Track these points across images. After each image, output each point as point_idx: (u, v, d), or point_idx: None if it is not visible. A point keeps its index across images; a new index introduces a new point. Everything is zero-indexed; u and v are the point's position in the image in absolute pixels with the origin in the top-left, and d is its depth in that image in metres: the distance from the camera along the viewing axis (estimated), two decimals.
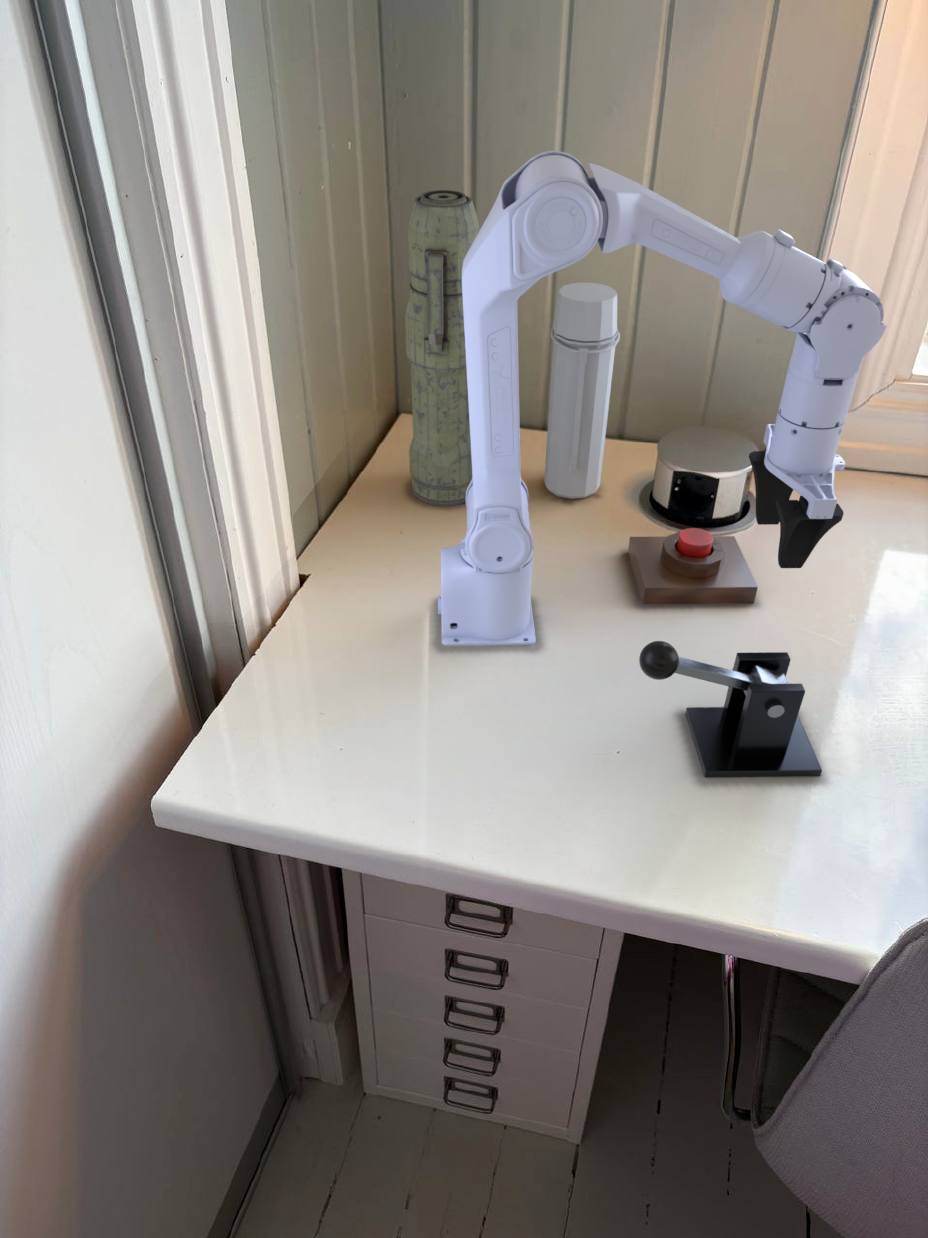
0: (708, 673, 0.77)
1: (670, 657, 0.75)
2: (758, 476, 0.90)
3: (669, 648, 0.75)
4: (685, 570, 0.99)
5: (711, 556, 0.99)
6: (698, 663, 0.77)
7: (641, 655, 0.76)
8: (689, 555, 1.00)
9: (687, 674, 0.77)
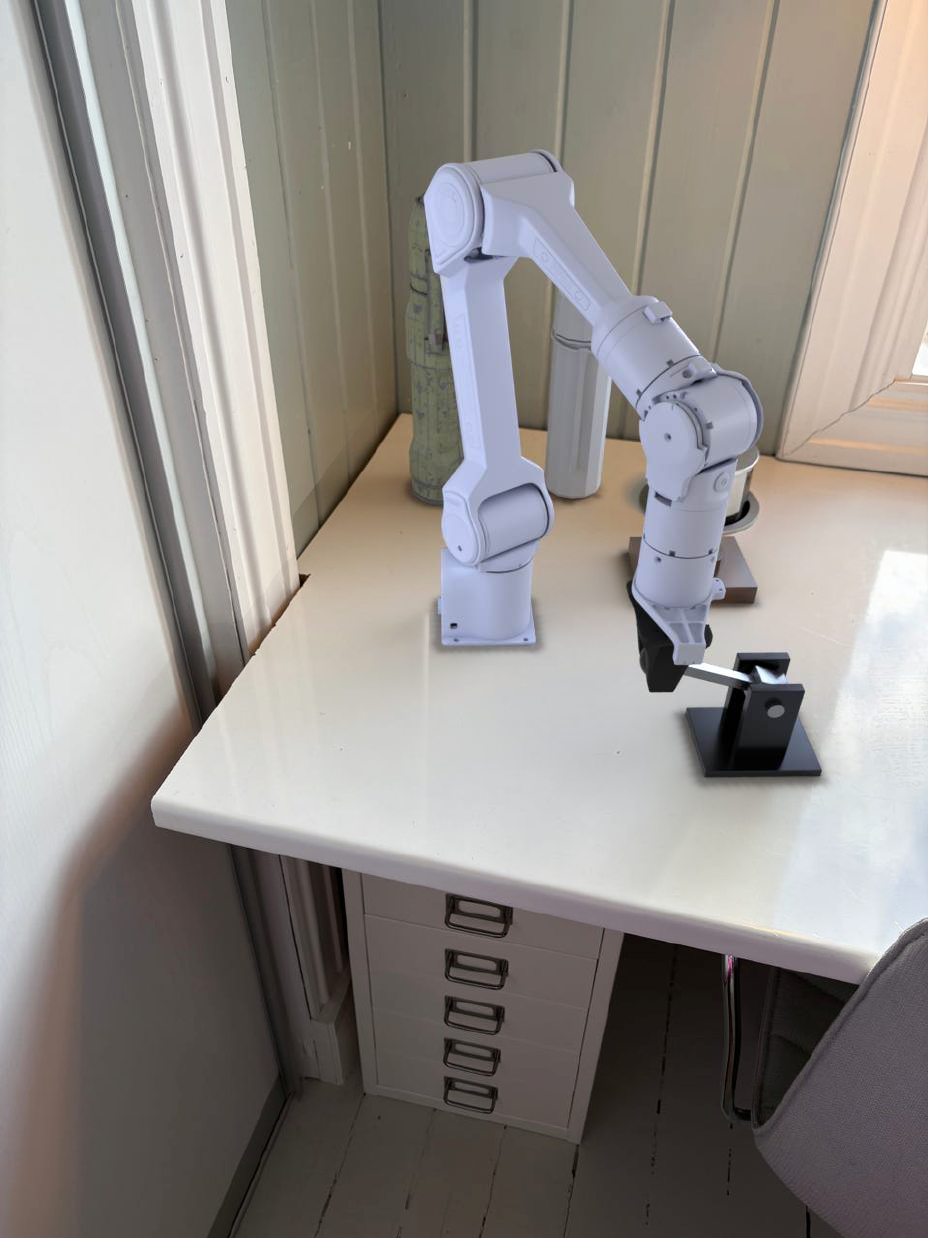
0: (708, 673, 0.77)
1: None
2: (636, 611, 0.75)
3: None
4: None
5: None
6: None
7: (641, 655, 0.76)
8: None
9: (687, 674, 0.77)
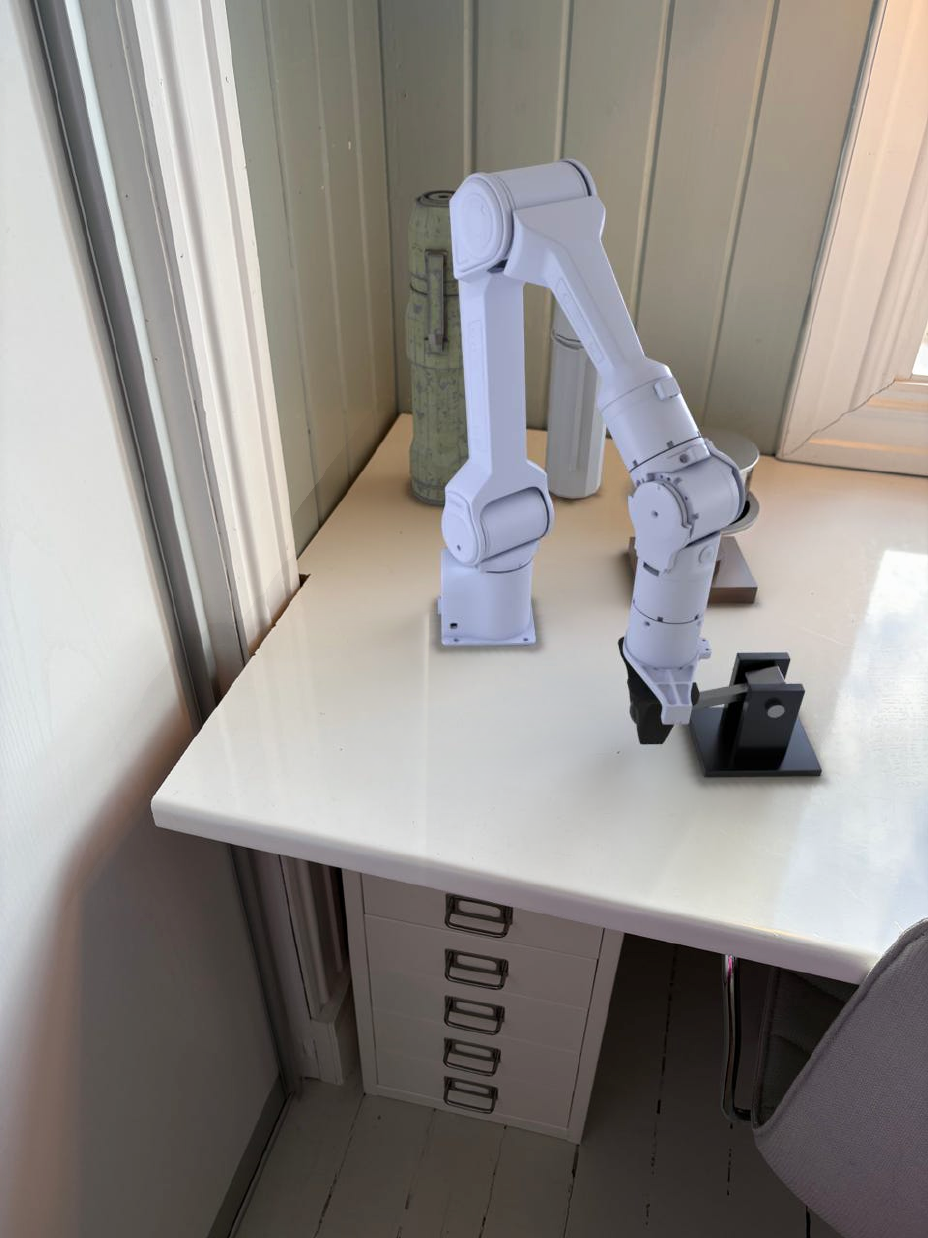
0: (698, 702, 0.79)
1: None
2: (627, 667, 0.79)
3: None
4: None
5: None
6: None
7: (630, 713, 0.80)
8: None
9: None
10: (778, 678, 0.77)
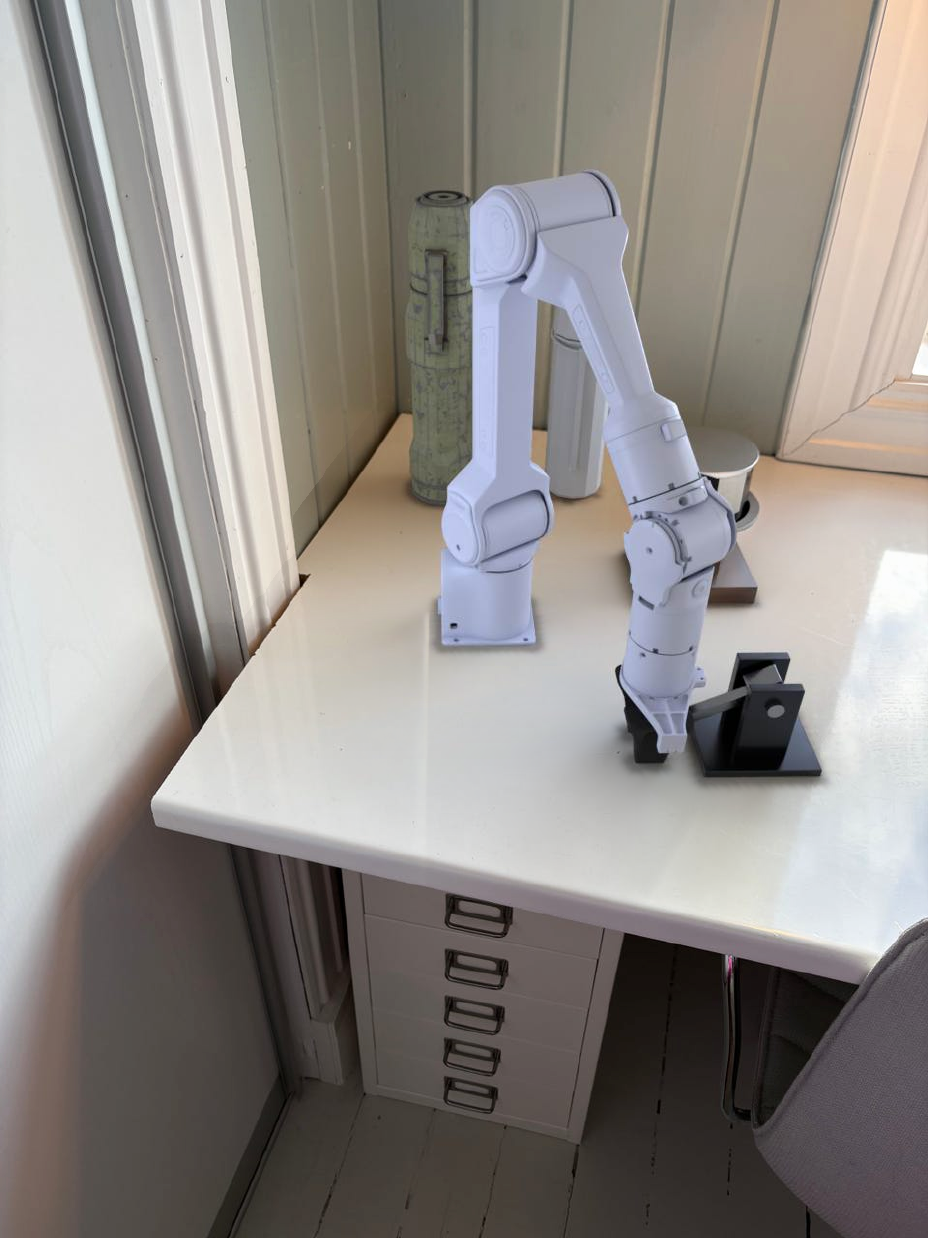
0: (701, 712, 0.79)
1: None
2: (624, 694, 0.81)
3: None
4: None
5: None
6: (689, 708, 0.80)
7: None
8: None
9: None
10: (774, 677, 0.77)
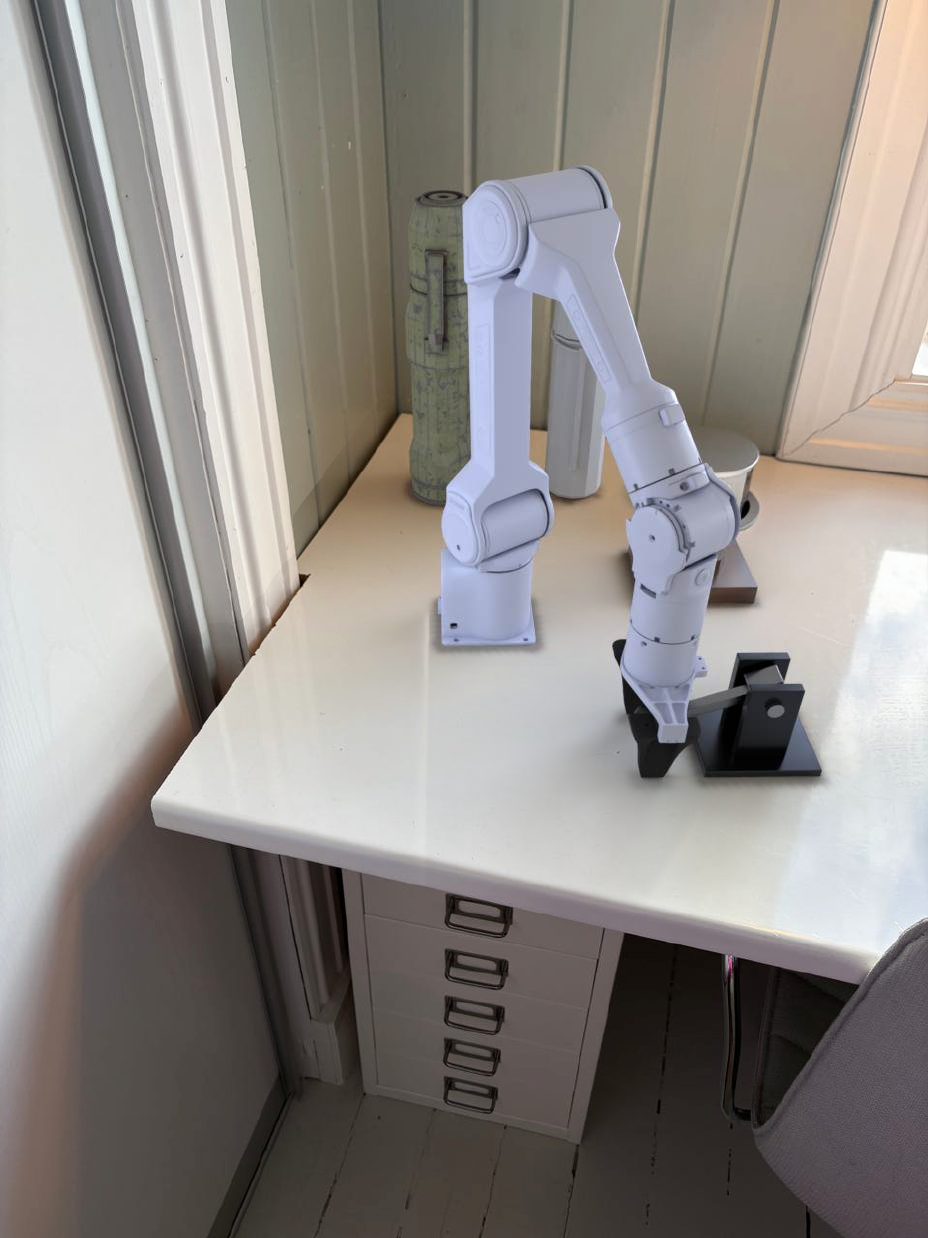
0: (699, 708, 0.79)
1: None
2: None
3: (648, 709, 0.79)
4: None
5: None
6: None
7: None
8: None
9: None
10: (776, 677, 0.77)
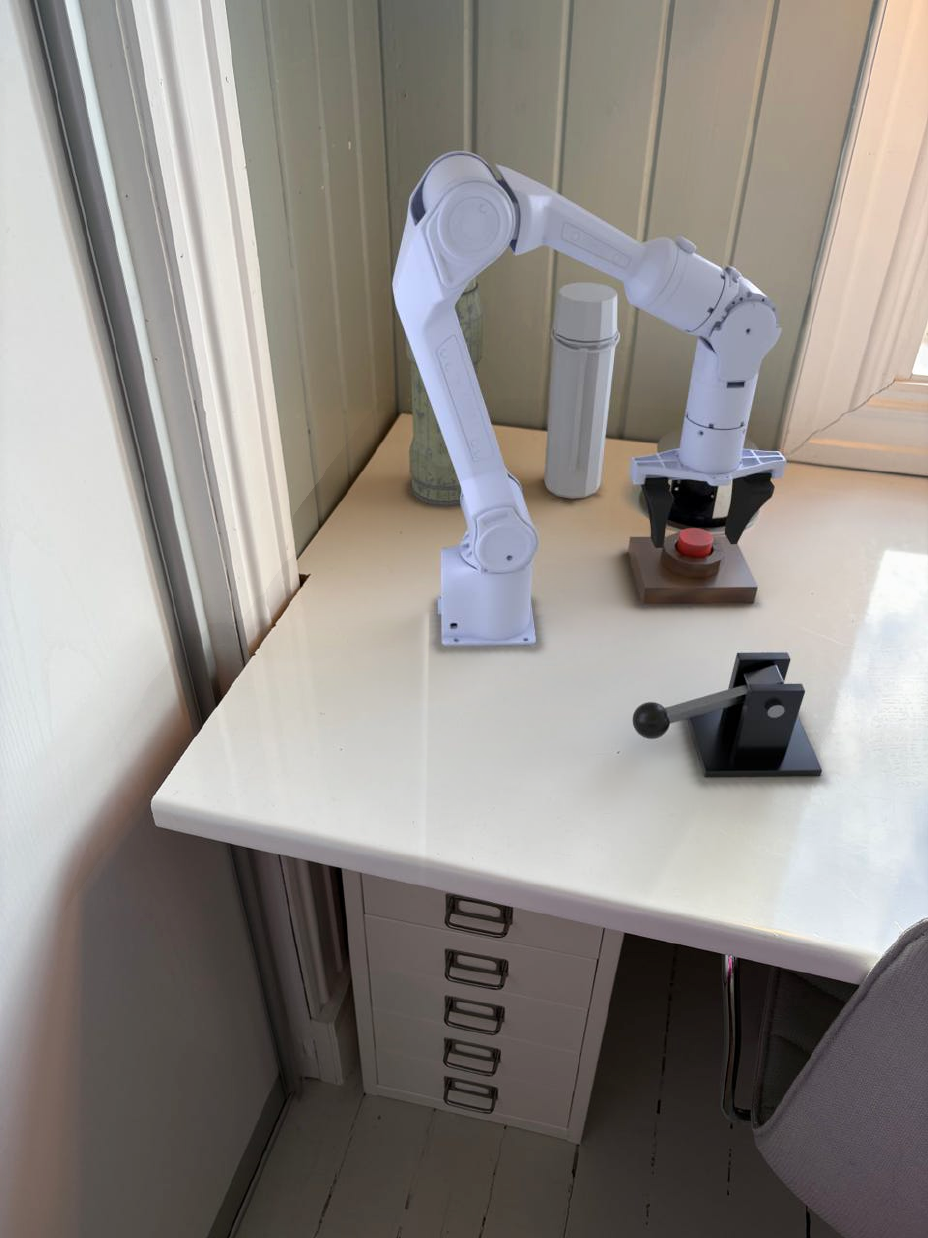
0: (699, 708, 0.79)
1: (652, 717, 0.79)
2: (732, 482, 0.92)
3: (648, 709, 0.79)
4: (685, 570, 0.99)
5: (711, 556, 0.99)
6: (687, 703, 0.80)
7: (633, 725, 0.81)
8: (689, 555, 1.00)
9: (682, 718, 0.80)
10: (776, 677, 0.77)
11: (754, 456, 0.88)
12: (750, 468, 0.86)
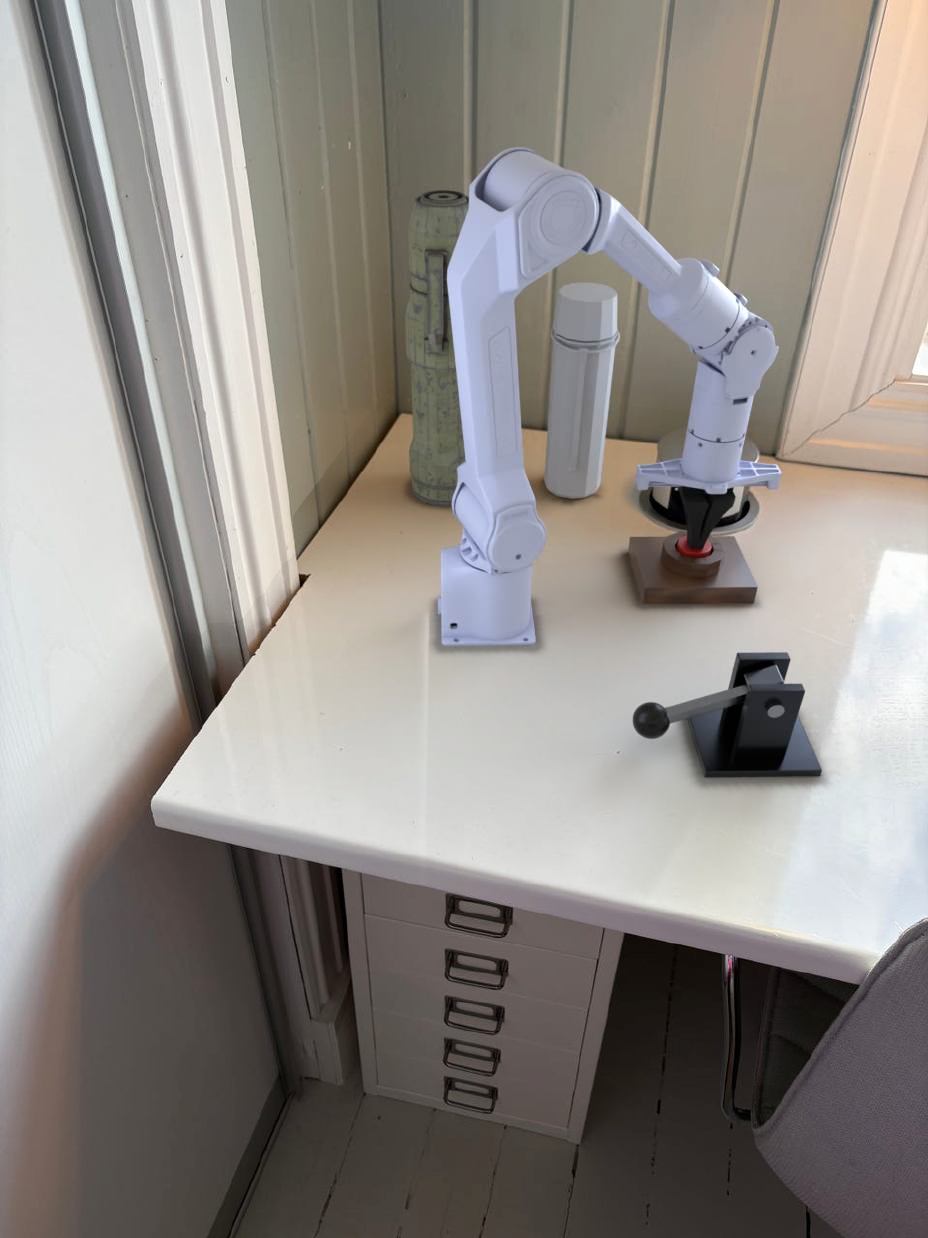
0: (699, 708, 0.79)
1: (652, 717, 0.79)
2: None
3: (648, 709, 0.79)
4: (685, 570, 0.99)
5: (711, 556, 0.99)
6: (687, 703, 0.80)
7: (633, 725, 0.81)
8: None
9: (682, 718, 0.80)
10: (776, 677, 0.77)
11: (752, 468, 0.95)
12: (746, 479, 0.93)
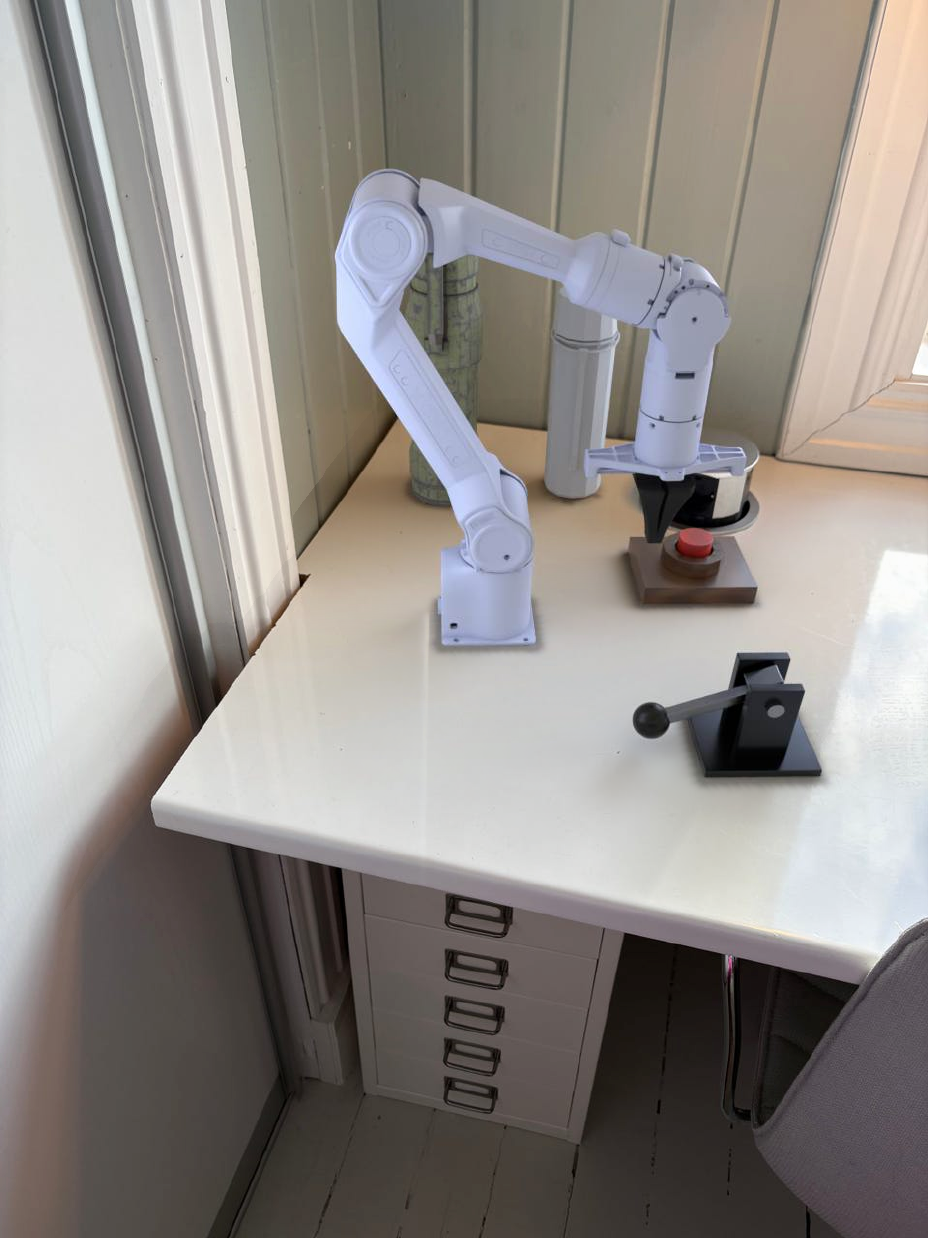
0: (699, 708, 0.79)
1: (652, 717, 0.79)
2: None
3: (648, 709, 0.79)
4: (685, 570, 0.99)
5: (711, 556, 0.99)
6: (687, 703, 0.80)
7: (633, 725, 0.81)
8: (689, 555, 1.00)
9: (682, 718, 0.80)
10: (776, 677, 0.77)
11: (713, 452, 0.85)
12: (706, 464, 0.83)
